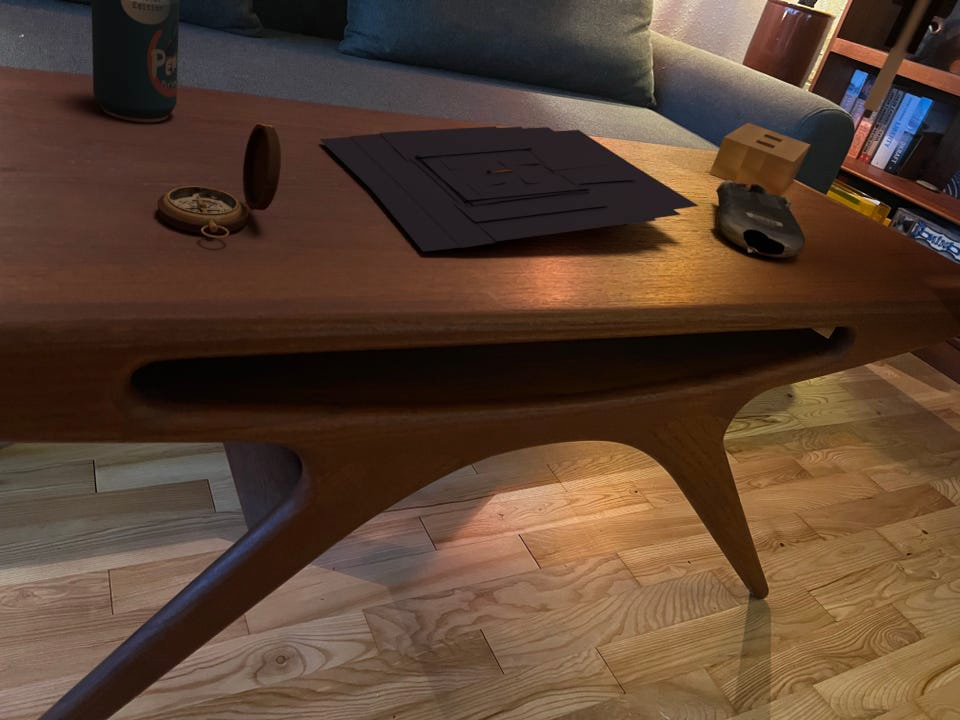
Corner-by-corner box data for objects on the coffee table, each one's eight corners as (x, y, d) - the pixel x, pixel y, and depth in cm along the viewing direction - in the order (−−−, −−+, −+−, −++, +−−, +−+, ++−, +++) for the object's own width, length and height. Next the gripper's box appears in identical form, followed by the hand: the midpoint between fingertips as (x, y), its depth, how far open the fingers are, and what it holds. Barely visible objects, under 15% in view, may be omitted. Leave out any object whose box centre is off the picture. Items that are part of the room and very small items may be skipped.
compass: (148, 199, 57) (150, 100, 54) (256, 202, 61) (265, 111, 58) (168, 249, 52) (171, 143, 48) (285, 249, 56) (297, 151, 52)
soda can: (171, 129, 70) (175, -14, 64) (86, 116, 68) (82, -33, 62) (179, 107, 76) (184, -27, 70) (101, 94, 74) (98, -45, 67)
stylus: (873, 119, 76) (957, -48, 68) (872, 120, 75) (957, -48, 67) (859, 114, 76) (940, -52, 69) (857, 115, 75) (940, -53, 68)
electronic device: (698, 212, 92) (716, 239, 78) (722, 167, 90) (745, 188, 76) (770, 244, 92) (801, 278, 78) (795, 201, 90) (831, 228, 76)
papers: (704, 240, 75) (715, 205, 73) (421, 284, 61) (425, 242, 59) (564, 147, 91) (570, 116, 89) (317, 164, 78) (318, 129, 76)
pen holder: (794, 178, 112) (810, 144, 109) (777, 199, 100) (794, 161, 97) (733, 156, 114) (747, 122, 112) (709, 173, 102) (724, 136, 100)
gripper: (960, -297, 59) (818, 26, 72) (1171, -261, 55) (982, 77, 67) (958, -269, 65) (828, 25, 78) (1149, -234, 61) (979, 71, 73)
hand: (899, 49), depth 72 cm, fingers closed on stylus
